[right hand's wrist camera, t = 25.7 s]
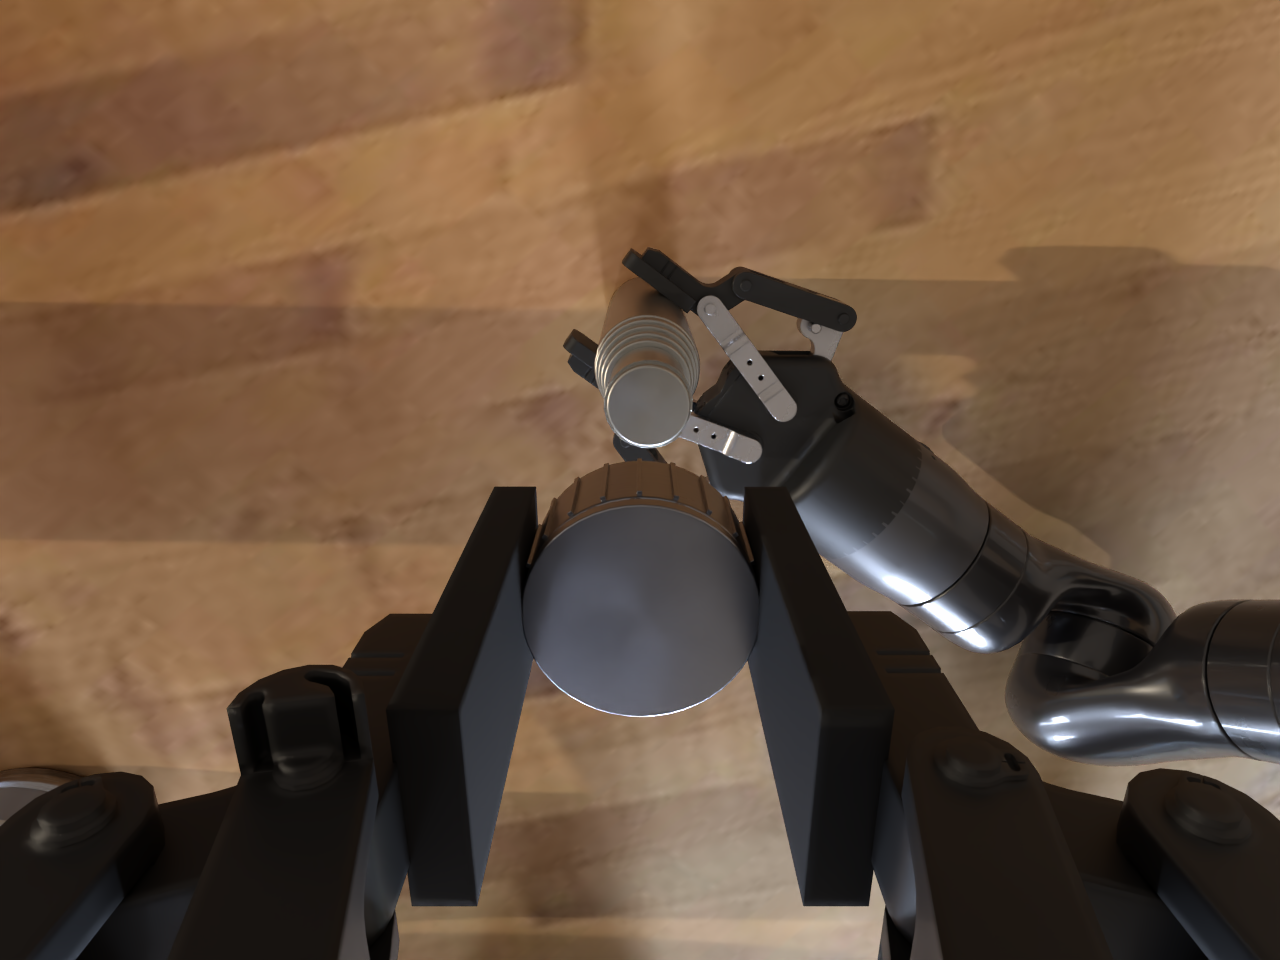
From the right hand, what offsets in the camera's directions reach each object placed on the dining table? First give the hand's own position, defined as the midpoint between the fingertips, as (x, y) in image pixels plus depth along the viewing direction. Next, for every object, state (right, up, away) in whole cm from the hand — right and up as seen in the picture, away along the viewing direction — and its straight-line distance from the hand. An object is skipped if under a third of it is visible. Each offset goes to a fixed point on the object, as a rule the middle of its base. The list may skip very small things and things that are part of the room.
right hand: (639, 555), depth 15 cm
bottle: (0, +10, +28) cm, 30 cm away
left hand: (-2, +10, +22) cm, 24 cm away
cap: (0, -1, -2) cm, 2 cm away
